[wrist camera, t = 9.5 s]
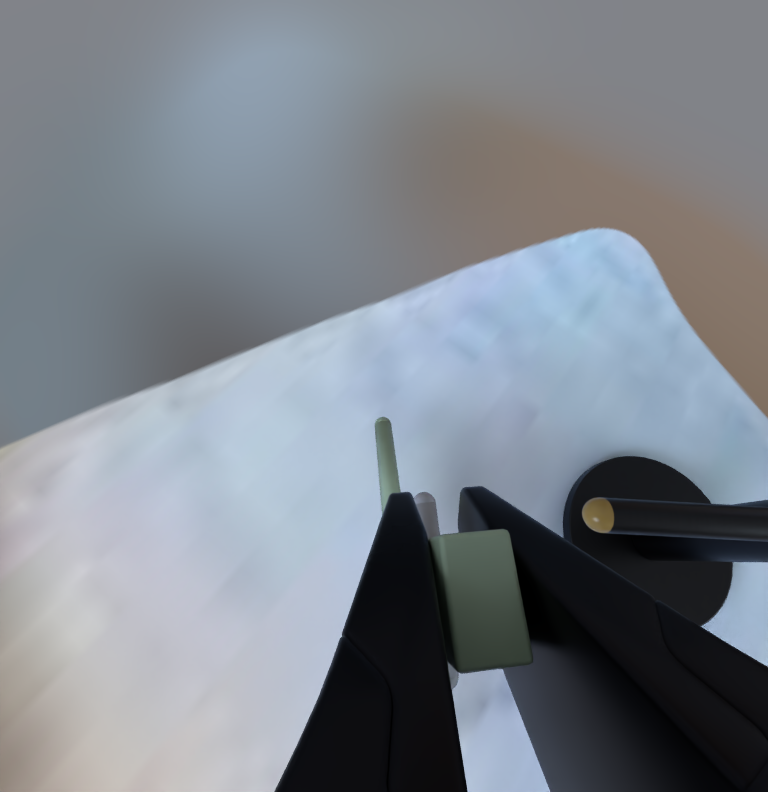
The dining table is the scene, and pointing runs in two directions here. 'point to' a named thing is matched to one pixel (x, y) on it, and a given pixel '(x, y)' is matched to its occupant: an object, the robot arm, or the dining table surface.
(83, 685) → the dining table surface
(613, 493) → the black holder stand
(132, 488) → the dining table surface
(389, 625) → the robot arm
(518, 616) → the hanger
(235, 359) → the dining table surface
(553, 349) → the dining table surface
